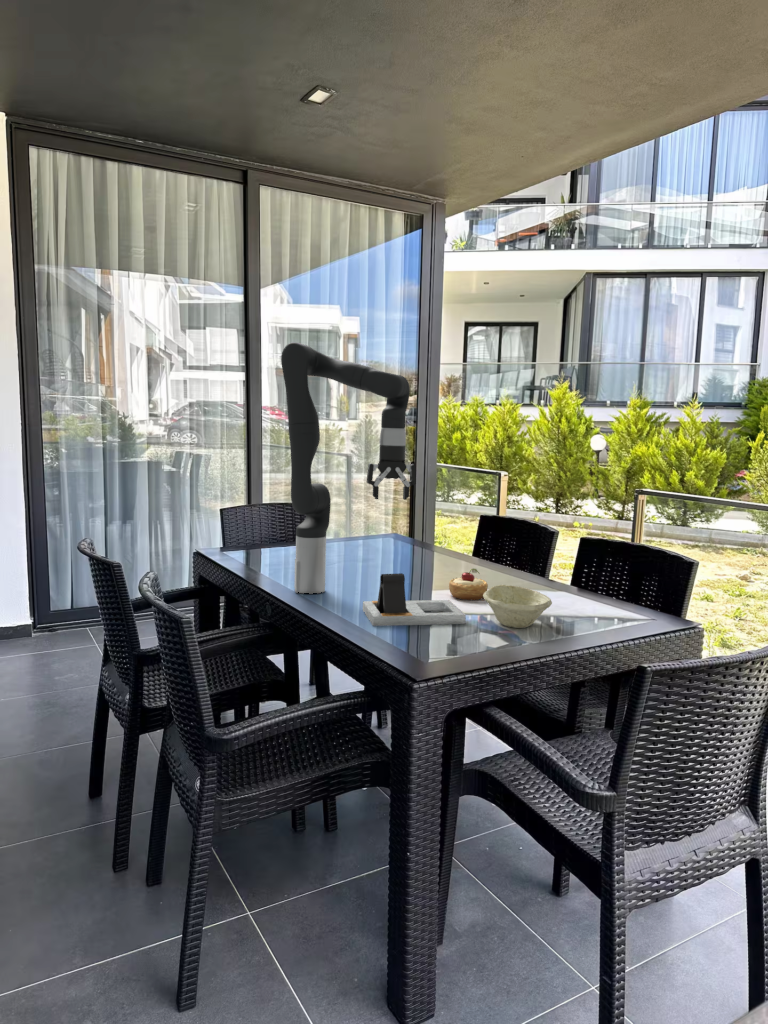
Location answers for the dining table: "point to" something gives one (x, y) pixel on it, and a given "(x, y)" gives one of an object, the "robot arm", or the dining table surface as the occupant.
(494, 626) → the dining table surface
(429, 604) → the white slotted tray
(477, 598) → the pastry
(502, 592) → the bowl
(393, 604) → the phone stand
